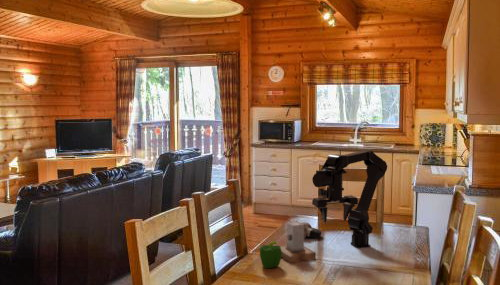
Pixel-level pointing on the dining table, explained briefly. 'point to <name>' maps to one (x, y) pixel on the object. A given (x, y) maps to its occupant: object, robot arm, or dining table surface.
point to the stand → (297, 255)
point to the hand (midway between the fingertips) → (334, 221)
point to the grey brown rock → (310, 231)
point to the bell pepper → (270, 255)
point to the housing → (295, 237)
